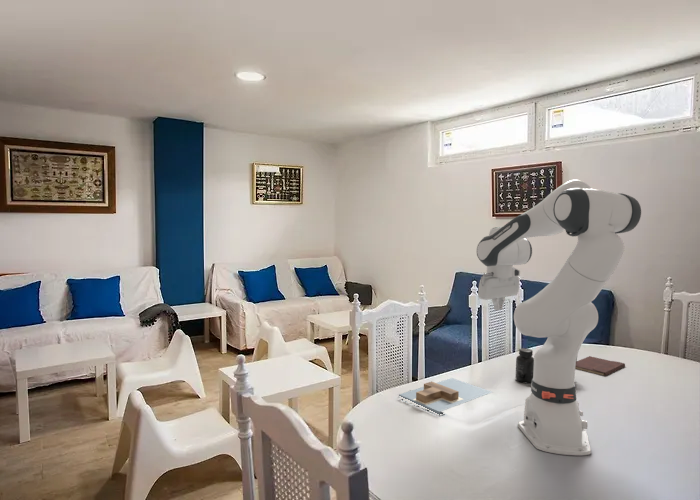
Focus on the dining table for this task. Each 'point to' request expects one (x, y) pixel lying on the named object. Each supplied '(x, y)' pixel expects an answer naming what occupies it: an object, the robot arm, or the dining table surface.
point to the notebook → (598, 365)
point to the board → (438, 405)
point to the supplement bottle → (524, 366)
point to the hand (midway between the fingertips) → (498, 309)
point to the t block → (436, 393)
